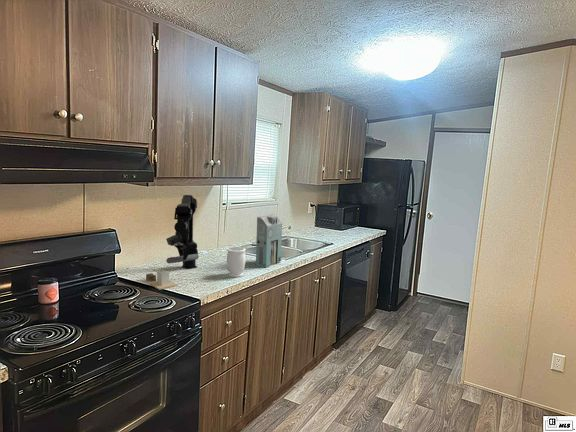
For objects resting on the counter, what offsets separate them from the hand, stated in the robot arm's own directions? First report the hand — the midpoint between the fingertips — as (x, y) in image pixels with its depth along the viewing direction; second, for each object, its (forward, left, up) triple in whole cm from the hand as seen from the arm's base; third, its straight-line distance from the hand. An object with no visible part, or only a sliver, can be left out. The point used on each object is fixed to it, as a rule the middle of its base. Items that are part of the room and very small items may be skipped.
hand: (183, 259), depth 208 cm
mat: (+11, 0, -12) cm, 16 cm away
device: (-58, +2, -12) cm, 59 cm away
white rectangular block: (+11, 0, -11) cm, 16 cm away
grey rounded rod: (0, 0, -1) cm, 1 cm away
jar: (-28, +9, -12) cm, 31 cm away
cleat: (+13, -10, -12) cm, 20 cm away
